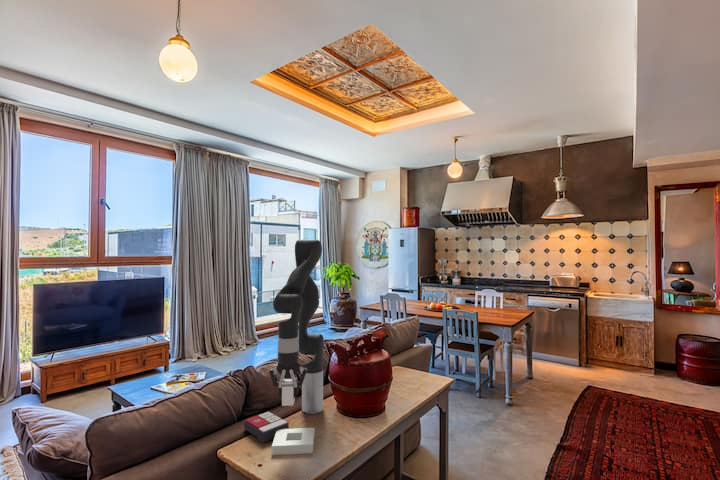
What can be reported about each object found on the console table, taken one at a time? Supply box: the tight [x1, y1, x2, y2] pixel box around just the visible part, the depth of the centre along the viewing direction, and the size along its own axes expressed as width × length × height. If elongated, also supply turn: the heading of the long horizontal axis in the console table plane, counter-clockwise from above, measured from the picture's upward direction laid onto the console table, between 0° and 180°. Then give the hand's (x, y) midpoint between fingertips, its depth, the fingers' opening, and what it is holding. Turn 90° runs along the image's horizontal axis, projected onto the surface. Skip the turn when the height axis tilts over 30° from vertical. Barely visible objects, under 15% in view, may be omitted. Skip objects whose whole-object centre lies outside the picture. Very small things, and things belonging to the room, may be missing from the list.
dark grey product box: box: [243, 411, 290, 444], centre depth 140 cm, size 11×4×15 cm
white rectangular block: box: [281, 378, 296, 407], centre depth 131 cm, size 4×4×8 cm
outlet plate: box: [271, 427, 316, 456], centre depth 130 cm, size 12×14×3 cm
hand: (288, 396), depth 131 cm, fingers closed on white rectangular block, 4 cm apart
